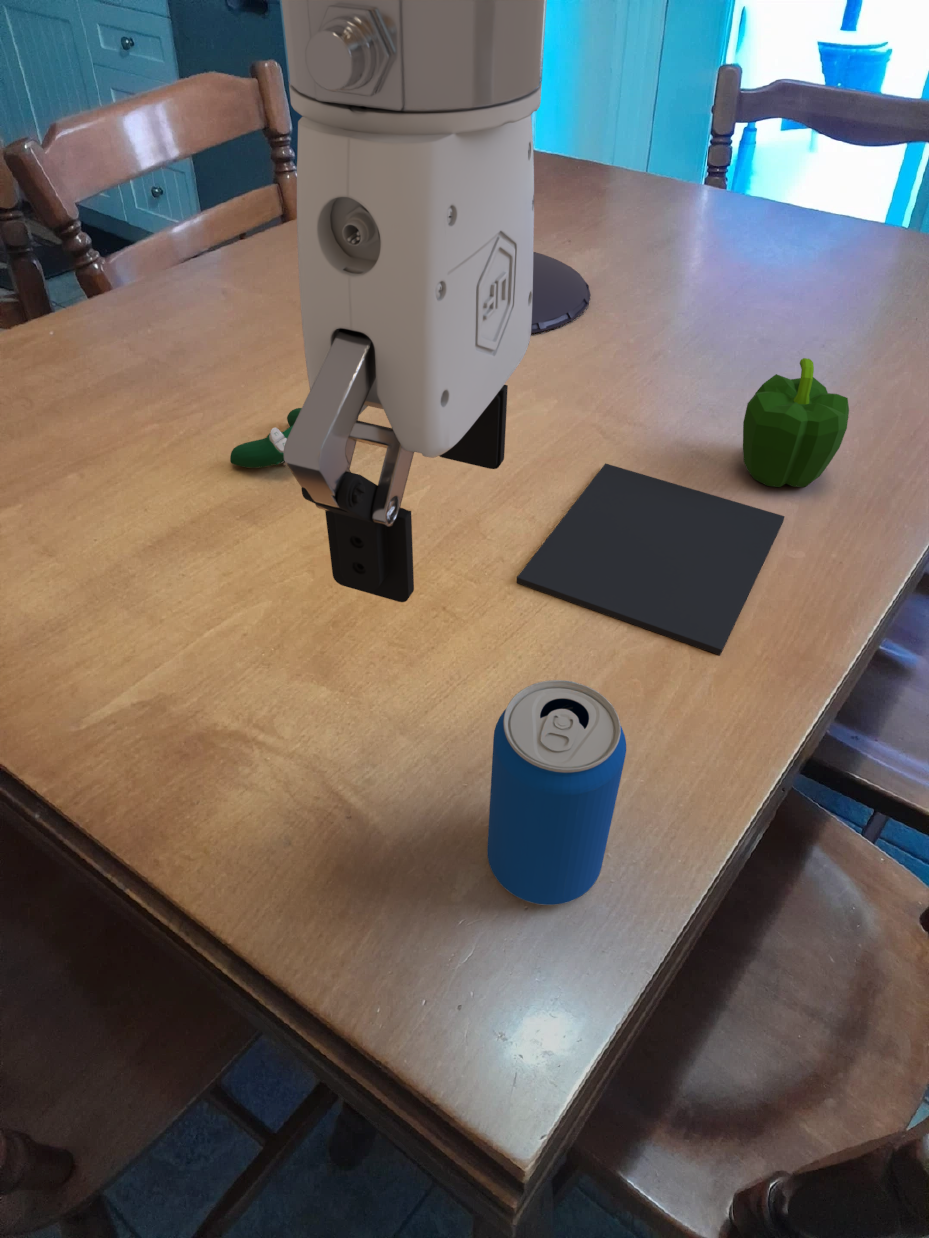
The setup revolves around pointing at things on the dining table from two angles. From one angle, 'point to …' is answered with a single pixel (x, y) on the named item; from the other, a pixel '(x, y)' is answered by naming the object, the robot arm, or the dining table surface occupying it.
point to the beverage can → (553, 790)
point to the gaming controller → (264, 447)
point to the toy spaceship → (556, 293)
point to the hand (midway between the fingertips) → (425, 519)
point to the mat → (656, 556)
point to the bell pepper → (793, 429)
